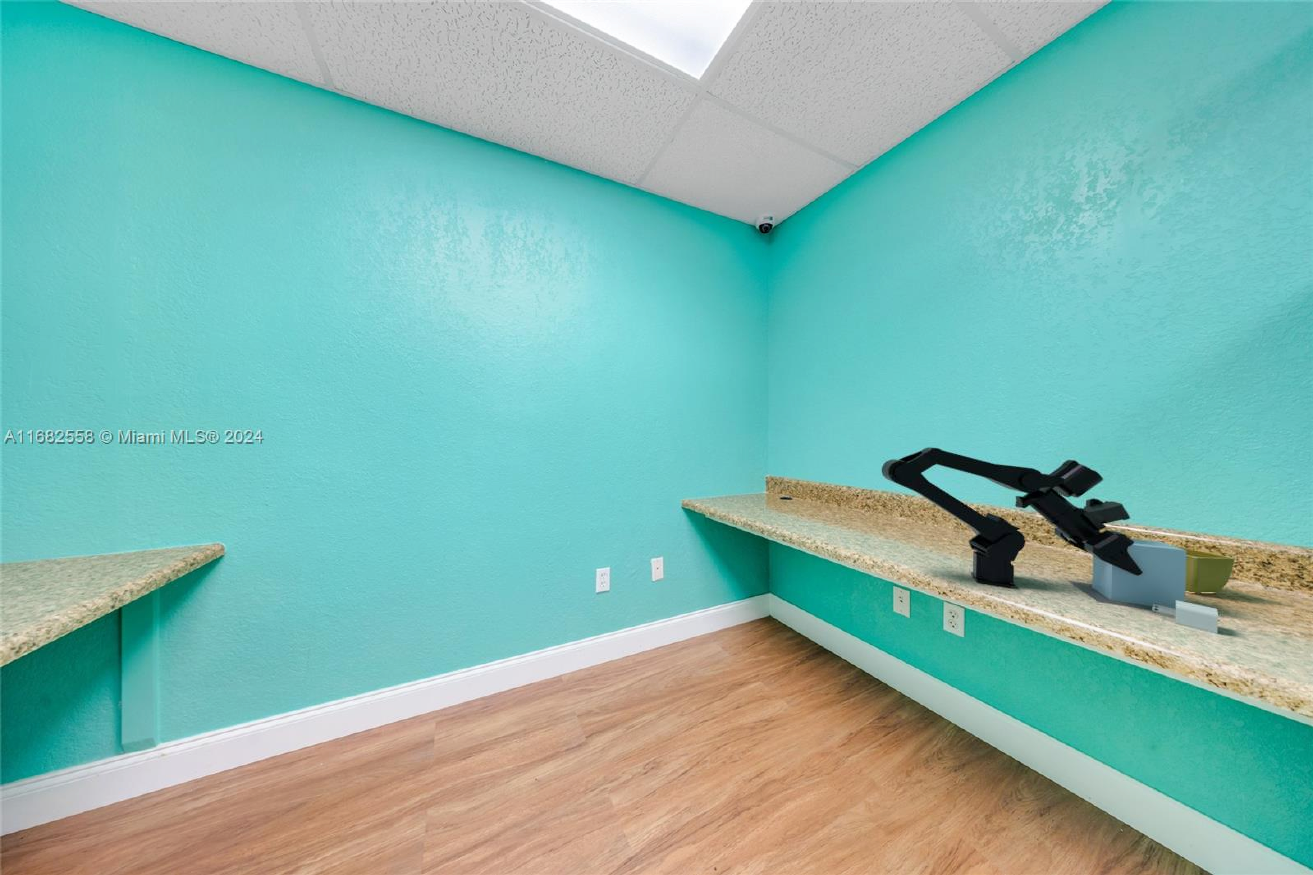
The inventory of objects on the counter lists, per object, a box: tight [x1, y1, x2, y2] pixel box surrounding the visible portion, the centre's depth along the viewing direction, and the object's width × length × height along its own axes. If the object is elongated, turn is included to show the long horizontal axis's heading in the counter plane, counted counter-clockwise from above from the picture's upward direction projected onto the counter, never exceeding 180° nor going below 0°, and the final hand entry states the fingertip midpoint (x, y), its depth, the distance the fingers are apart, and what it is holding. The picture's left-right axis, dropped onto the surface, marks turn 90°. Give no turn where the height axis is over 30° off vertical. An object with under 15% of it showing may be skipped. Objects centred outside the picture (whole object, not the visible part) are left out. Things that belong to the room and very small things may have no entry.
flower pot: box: [1177, 546, 1236, 593], centre depth 86 cm, size 9×9×9 cm
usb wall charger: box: [1151, 600, 1219, 635], centre depth 70 cm, size 4×7×4 cm, turn 36°
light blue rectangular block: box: [1091, 537, 1186, 609], centre depth 80 cm, size 10×7×12 cm
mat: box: [1067, 580, 1221, 622], centre depth 80 cm, size 16×13×1 cm
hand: (1128, 568), depth 81 cm, fingers closed on light blue rectangular block, 7 cm apart
